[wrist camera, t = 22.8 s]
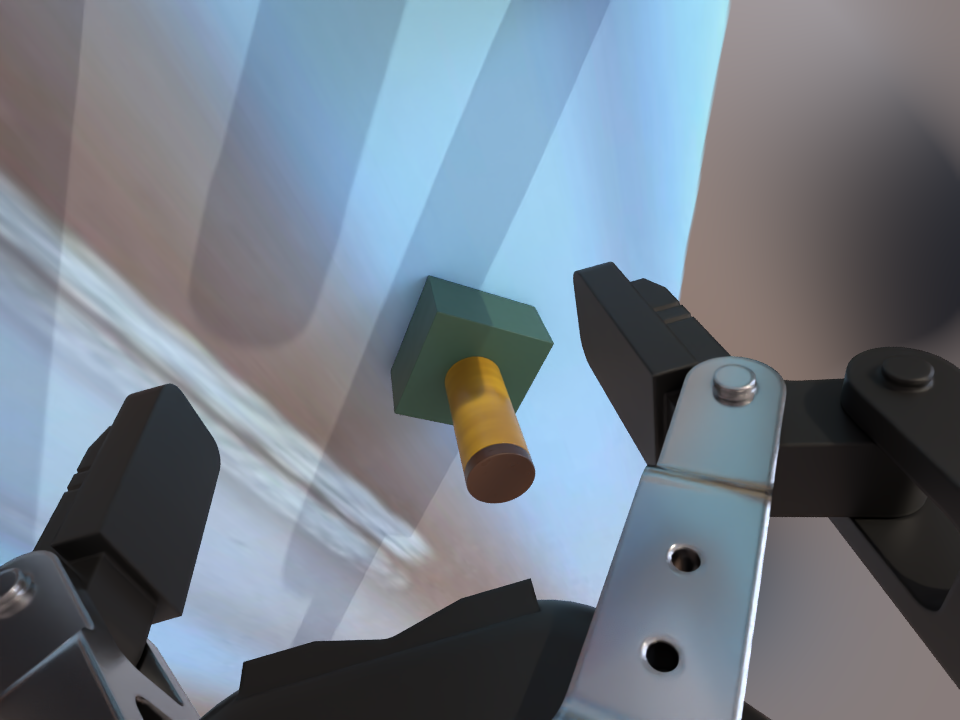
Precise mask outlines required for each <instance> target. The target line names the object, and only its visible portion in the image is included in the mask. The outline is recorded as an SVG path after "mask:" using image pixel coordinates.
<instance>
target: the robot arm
mask: <svg viewBox="0 0 960 720" xmlns="http://www.w3.org/2000/svg"><path fill="white" fill-rule="evenodd" d="M573 283H574V291H575V299H576V307H577V315H578V322H579V330H580V338H581V343H582V347H583V350H584V353H585V356H586V359H587V361H588V364H589V366H590V367H591V369H592V371H593V373H594V374H595V376H596V378H597V379H598V381H599V383H600V385H601V386H602V388H603V390H604V391H605V393H606V395H607V397H608V398H609V400H610V402H611V403H612V405H613V407H614V409H615V410H616V412H617V414H618V415H619V417H620V419H621V421H622V422H623V424H624V426H625V427H626V429H627V431H628V433H629V434H630V436H631V438H632V439H633V441H634V443H635V445H636V446H637V448H638V450H639V451H640V453H641V455H642V457H643V458H644V460H645V462H646V463H647V466H646V468H645V469H644V471H643V474H642V476H641V479H640V481H639V484H638V487H637V490H636V493H635V496H634V499H633V502H632V505H631V508H630V511H629V513H628V516H627V519H626V522H625V525H624V528H623V531H622V534H621V537H620V540H619V543H618V545H617V548H616V551H615V554H614V557H613V560H612V563H611V566H610V569H609V572H608V575H607V577H606V580H605V583H604V586H603V589H602V592H601V595H600V598H599V601H598V604H597V607H596V608H594V607H591V606H589V605H584V604H580V603H575V602H571V601H561V600H537V599H536V595H535V592H534V588H533V585H532V581H531V578H530V579H527V580H523V581H520V582H517V583H513V584H510V585H506V586H503V587H499V588H496V589H492V590H489V591H486V592H482V593H479V594H475V595H472V596H468V597H465V598H462V599H459V600H458V601H456V602H454V603H452V604H451V605H449V606H447V607H445V608H444V609H442V610H440V611H438V612H436V613H435V614H433V615H431V616H429V617H428V618H426V619H424V620H422V621H421V622H419V623H417V624H415V625H413V626H412V627H410V628H408V629H406V630H405V631H403V632H401V633H399V634H397V635H396V636H393V637H391V638H388V639H381V640H346V641H314V642H311V643H307V644H304V645H300V646H297V647H294V648H290V649H287V650H283V651H280V652H276V653H273V654H270V655H266V656H263V657H259V658H256V659H252V660H249V661H246V662H243V668H242V675H241V681H240V688H239V690H238V691H236V692H234V693H233V694H231V695H230V696H229V697H227V698H226V699H224V700H223V701H221V702H220V703H219V704H217V705H216V706H215V707H213V708H212V709H211V710H210V711H209V712H208V713H206V714H205V715H204V716H203V717H202V718H201V717H200V716H199V714H198V713H197V711H196V710H195V708H194V706H193V705H192V703H191V702H190V700H189V698H188V697H187V695H186V693H185V692H184V690H183V689H182V687H181V685H180V684H179V682H178V681H177V679H176V677H175V676H174V674H173V673H172V671H171V669H170V668H169V666H168V665H167V663H166V661H165V660H164V658H163V657H162V655H161V653H160V652H159V650H158V649H157V647H156V646H155V645H154V644H153V643H152V642H151V641H150V640H149V639H148V638H147V637H148V634H149V631H150V627H151V624H155V623H158V622H162V621H165V620H169V619H172V618H176V617H179V616H182V613H183V609H184V605H185V601H186V598H187V594H188V590H189V586H190V582H191V578H192V575H193V571H194V567H195V563H196V559H197V555H198V552H199V548H200V544H201V540H202V536H203V532H204V529H205V525H206V521H207V517H208V513H209V509H210V505H211V502H212V498H213V494H214V490H215V486H216V482H217V479H218V475H219V471H220V454H219V450H218V447H217V444H216V442H215V440H214V438H213V437H212V435H211V434H210V432H209V431H208V429H207V428H206V426H205V425H204V423H203V422H202V421H201V419H200V418H199V416H198V415H197V413H196V412H195V410H194V409H193V407H192V406H191V404H190V403H189V401H188V400H187V398H186V397H185V396H184V394H183V393H182V391H181V390H180V389H179V388H178V387H177V386H175V385H173V384H165V385H162V386H158V387H154V388H151V389H147V390H144V391H140V392H136V393H133V394H130V395H129V396H127V398H126V399H125V401H124V403H123V405H122V407H121V409H120V411H119V413H118V415H117V417H116V419H115V420H114V422H113V424H112V426H109V427H108V428H107V429H106V430H105V432H104V433H103V434H102V435H101V436H100V437H99V438H98V439H97V440H96V441H95V442H94V443H93V444H92V445H91V446H90V447H89V448H88V450H87V452H86V454H85V456H84V457H83V459H82V461H81V463H80V465H79V467H78V468H77V471H78V473H77V474H74V476H73V478H72V480H71V481H70V483H69V485H68V487H67V489H68V492H65V493H64V494H63V496H62V498H61V500H60V502H59V504H58V505H57V507H56V509H55V511H54V513H53V515H52V517H51V518H50V520H49V522H48V524H47V526H46V528H45V530H44V531H43V533H42V535H41V537H40V539H39V541H38V542H37V544H36V546H35V548H34V550H33V552H30V553H27V554H24V555H21V556H19V557H17V558H14V559H13V560H11V561H9V562H7V563H5V564H4V565H2V566H1V567H0V720H771V719H770V718H768V717H767V716H765V715H764V714H762V713H761V712H759V711H758V710H756V709H755V708H753V707H752V706H750V705H749V704H747V703H746V702H745V701H744V695H745V689H746V682H747V674H748V667H749V659H750V653H751V644H752V638H753V631H754V623H755V617H756V609H757V602H758V595H759V588H760V581H761V573H762V565H763V559H764V552H765V544H766V537H767V530H768V523H769V517H828V518H829V519H830V520H831V521H832V523H833V524H834V525H835V527H836V528H837V529H838V530H839V532H840V533H841V535H842V536H843V537H844V539H845V540H846V541H847V542H848V544H849V545H850V546H851V547H852V549H853V550H854V552H855V553H856V554H857V556H858V557H859V558H860V559H861V561H862V562H863V563H864V565H865V566H866V567H867V569H868V570H869V571H870V573H871V574H872V575H873V576H874V578H875V579H876V580H877V582H878V583H879V584H880V586H881V587H882V588H883V590H884V591H885V592H886V594H887V595H888V596H889V598H890V599H891V600H892V601H893V603H894V604H895V605H896V607H897V608H898V609H899V611H900V612H901V613H902V615H903V616H904V617H905V619H906V620H907V621H908V622H909V624H910V625H911V626H912V628H913V629H914V630H915V632H916V633H917V634H918V636H919V637H920V638H921V639H922V641H923V642H924V643H925V645H926V646H927V647H928V649H929V650H930V651H931V653H932V654H933V655H934V657H935V658H936V659H937V660H938V662H939V663H940V664H941V666H942V667H943V668H944V670H945V671H946V672H947V674H948V675H949V676H950V678H951V679H952V680H953V681H954V683H955V684H956V685H957V687H958V688H959V689H960V369H959V368H958V367H956V366H955V365H953V364H952V363H950V362H949V361H947V360H945V359H943V358H941V357H939V356H937V355H934V354H931V353H928V352H925V351H921V350H916V349H911V348H903V347H881V348H875V349H870V350H867V351H864V352H862V353H860V354H858V355H856V356H855V357H853V358H852V360H851V361H850V362H849V363H848V366H847V369H846V374H845V378H844V379H826V380H806V381H789V380H783V378H782V376H781V375H780V374H779V373H778V372H777V371H776V370H774V369H773V368H772V367H770V366H768V365H766V364H764V363H762V362H759V361H757V360H753V359H749V358H743V357H733V356H730V355H729V353H728V352H727V351H726V350H725V349H724V348H723V347H722V346H721V345H720V344H719V343H718V342H717V341H716V340H715V339H714V338H713V337H712V336H711V335H710V334H709V332H708V331H707V330H706V329H705V328H704V327H703V326H702V325H701V324H700V323H699V322H698V321H697V320H696V319H695V318H694V317H691V314H690V313H689V312H688V311H687V309H686V308H685V307H684V306H683V305H680V303H679V301H678V300H677V299H676V298H675V297H674V296H673V295H672V294H671V293H670V292H669V291H668V290H667V288H665V287H663V286H661V285H658V284H656V283H654V282H651V281H649V280H647V279H644V278H643V279H639V280H635V281H632V282H630V281H629V280H628V279H627V278H626V277H625V276H624V274H623V273H622V272H621V271H620V270H619V269H618V267H617V266H616V265H615V264H614V263H613V262H607V263H603V264H600V265H596V266H593V267H589V268H585V269H582V270H578V271H575V272H574V275H573Z"/></svg>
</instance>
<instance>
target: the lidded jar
mask: <svg viewBox="0 0 960 720" xmlns="http://www.w3.org/2000/svg"><path fill="white" fill-rule="evenodd" d="M445 389H446V393H447V398H448V402H449V407H450V412H451V416H452V421H453V426H454V430H455V435H456V439H457V444H458V449H459V453H460V458H461V463H462V467H463V472H464V476H465V481H466V486H467V489H468V491H469V493H470V494H471V495H472V496H473V497H474V498H476V499H477V500H479V501H482V502H486V503H503V502H507V501H510V500H513V499H515V498H517V497H519V496H521V495H522V494H523V493H525V492H526V491H527V490H528V489H529V488H530V486H531V485H532V483H533V481H534V478H535V468H534V465H533V462H532V459H531V456H530V454H529V451H528V448H527V445H526V442H525V440H524V437H523V434H522V431H521V428H520V426H519V423H518V420H517V417H516V414H515V412H514V409H513V406H512V403H511V400H510V398H509V395H508V392H507V389H506V387H505V384H504V381H503V378H502V375H501V373H500V370H499V368H498V366H497V365H496V364H495V363H494V362H493V361H491V360H489V359H487V358H484V357H468V358H465V359H462V360H460V361H458V362H457V363H455V364H454V365H453V366H452V367H451V368H450V369H449V371H448V372H447V374H446V377H445Z"/></svg>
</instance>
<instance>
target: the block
mask: <svg viewBox="0 0 960 720" xmlns="http://www.w3.org/2000/svg"><path fill="white" fill-rule="evenodd" d="M553 344H554V343H553V341H552V339H551V337H550V335H549V333H548V331H547V329H546V328H545V326H544V324H543V322H542V320H541V318H540V316H539V314H538V312H537V310H536V308H535V307H533V306H530V305H526V304H523V303H519V302H516V301H513V300H509V299H506V298H503V297H499V296H496V295H493V294H489V293H486V292H483V291H479V290H476V289H472V288H469V287H466V286H462V285H459V284H456V283H452V282H449V281H446V280H442V279H439V278H436V277H432V276H428V278H427V281H426V283H425V286H424V288H423V291H422V293H421V296H420V298H419V301H418V303H417V306H416V308H415V311H414V314H413V316H412V319H411V321H410V324H409V326H408V329H407V331H406V334H405V336H404V339H403V341H402V344H401V346H400V349H399V351H398V354H397V356H396V359H395V361H394V364H393V367H392V369H391V379H392V390H393V401H394V412H395V414H400V415H405V416H410V417H415V418H420V419H425V420H430V421H435V422H440V423H445V424H450V425H453V421H452V416H451V412H450V407H449V402H448V398H447V393H446V389H445V377H446V374H447V372H448V371H449V369H450V368H451V367H452V366H453V365H454V364H455V363H457V362H458V361H460V360H462V359H465V358H468V357H484V358H487V359H489V360H491V361H493V362H494V363H495V364H496V365H497V366H498V368H499V370H500V373H501V375H502V378H503V381H504V384H505V387H506V389H507V392H508V395H509V398H510V400H511V403H512V406H513V409H514V412H515V413H516V412H517V410H518V408H519V406H520V404H521V402H522V401H523V399H524V397H525V395H526V393H527V392H528V390H529V388H530V386H531V384H532V382H533V381H534V379H535V377H536V375H537V373H538V372H539V370H540V368H541V366H542V364H543V362H544V361H545V359H546V357H547V355H548V353H549V352H550V350H551V348H552V346H553Z"/></svg>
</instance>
